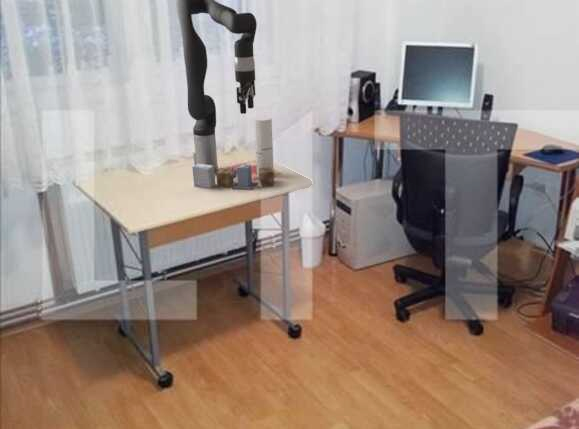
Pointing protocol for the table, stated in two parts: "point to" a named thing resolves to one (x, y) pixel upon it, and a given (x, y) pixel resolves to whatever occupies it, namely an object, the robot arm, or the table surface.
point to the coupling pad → (244, 187)
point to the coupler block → (244, 175)
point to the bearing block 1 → (225, 177)
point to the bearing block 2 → (266, 176)
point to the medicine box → (204, 175)
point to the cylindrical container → (263, 142)
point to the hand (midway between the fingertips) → (247, 110)
